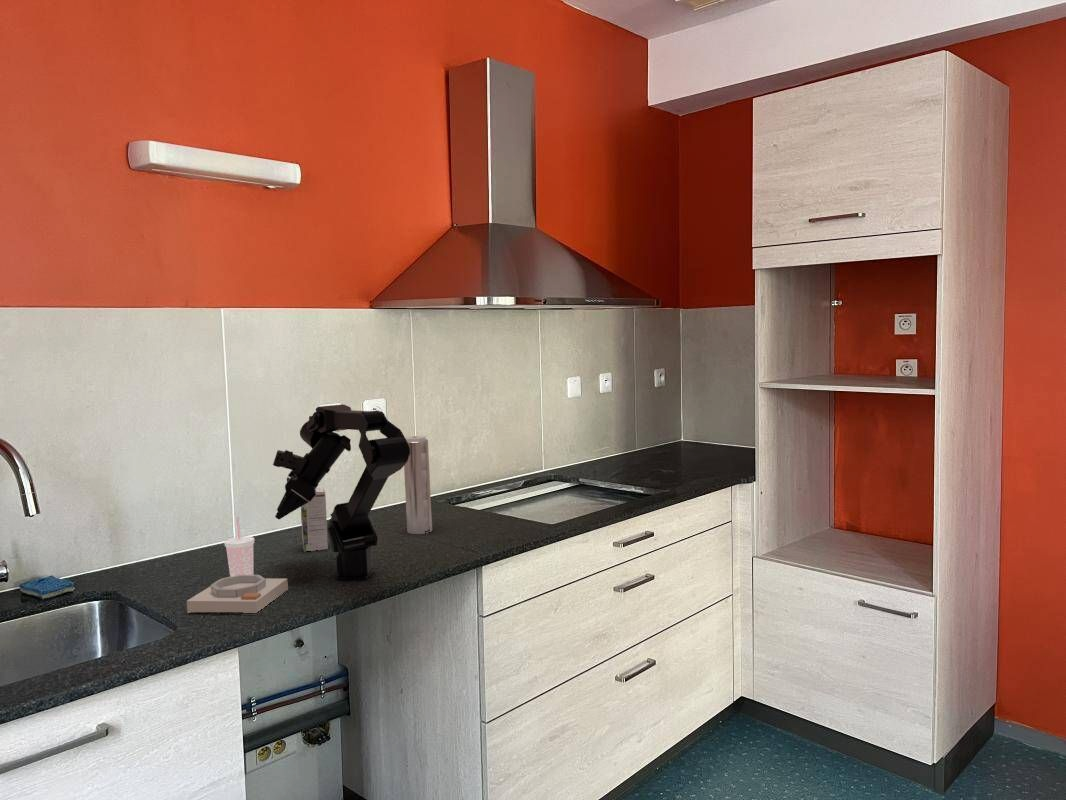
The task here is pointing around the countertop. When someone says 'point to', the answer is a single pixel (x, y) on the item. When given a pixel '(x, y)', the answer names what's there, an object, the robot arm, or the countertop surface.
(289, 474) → the robot arm
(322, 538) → the syrup box
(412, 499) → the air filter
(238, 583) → the base
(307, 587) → the countertop surface
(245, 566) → the beverage cup
